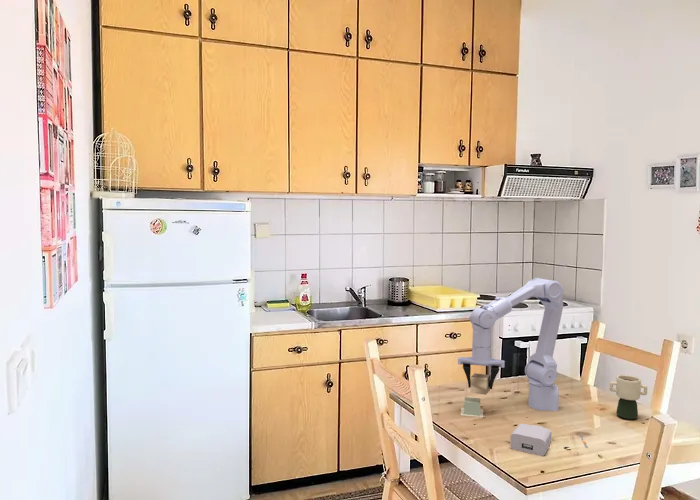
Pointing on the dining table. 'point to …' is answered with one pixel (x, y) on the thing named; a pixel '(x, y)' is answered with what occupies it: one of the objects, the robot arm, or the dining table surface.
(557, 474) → the dining table surface
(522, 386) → the dining table surface
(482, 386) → the maple block
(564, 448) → the key chain
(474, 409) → the sage base block
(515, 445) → the charger
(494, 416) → the dining table surface
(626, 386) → the trophy cup
